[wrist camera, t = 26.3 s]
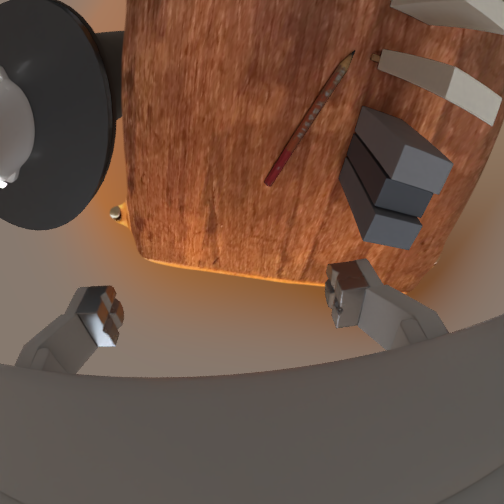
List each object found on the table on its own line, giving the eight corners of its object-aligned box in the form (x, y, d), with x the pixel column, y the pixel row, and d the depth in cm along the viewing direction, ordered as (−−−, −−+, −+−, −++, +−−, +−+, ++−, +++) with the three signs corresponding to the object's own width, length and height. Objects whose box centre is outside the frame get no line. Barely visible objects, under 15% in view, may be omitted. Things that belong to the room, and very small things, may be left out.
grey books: (338, 178, 34) (362, 241, 25) (362, 105, 28) (405, 144, 19) (375, 187, 35) (408, 250, 26) (401, 119, 28) (453, 163, 19)
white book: (377, 68, 24) (445, 98, 14) (382, 48, 23) (455, 66, 12) (416, 85, 25) (492, 126, 14) (421, 66, 23) (502, 98, 13)
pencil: (271, 184, 35) (271, 188, 35) (263, 180, 35) (263, 184, 34) (357, 52, 24) (360, 53, 23) (349, 47, 24) (351, 47, 23)
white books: (369, 59, 24) (434, 81, 14) (392, -34, 16) (463, -59, 5) (419, 80, 25) (495, 118, 14) (442, -9, 16) (524, -10, 6)
